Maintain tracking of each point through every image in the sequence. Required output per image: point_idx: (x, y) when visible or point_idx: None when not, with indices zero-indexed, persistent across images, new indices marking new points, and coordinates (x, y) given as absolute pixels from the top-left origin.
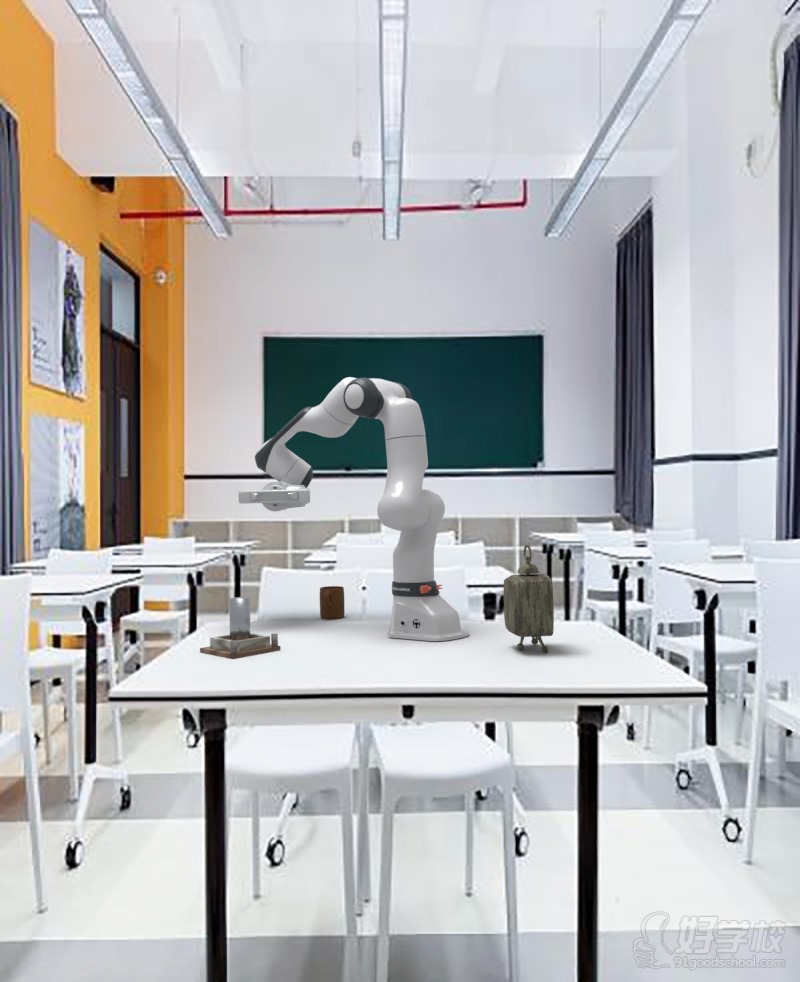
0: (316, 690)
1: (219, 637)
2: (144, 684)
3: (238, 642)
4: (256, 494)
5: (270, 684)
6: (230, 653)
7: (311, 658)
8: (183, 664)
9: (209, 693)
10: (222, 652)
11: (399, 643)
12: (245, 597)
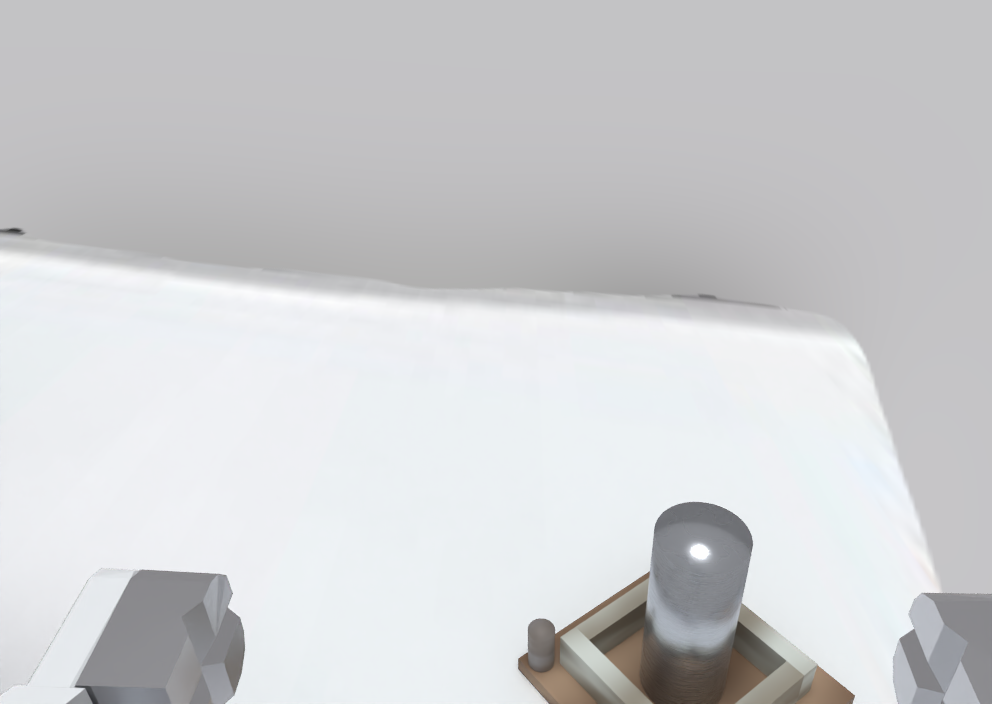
0: (455, 294)
1: (778, 668)
2: (822, 367)
3: None
4: (983, 597)
5: (540, 332)
6: None
7: (423, 520)
8: (820, 524)
9: (652, 304)
10: None
11: None
12: (679, 555)
